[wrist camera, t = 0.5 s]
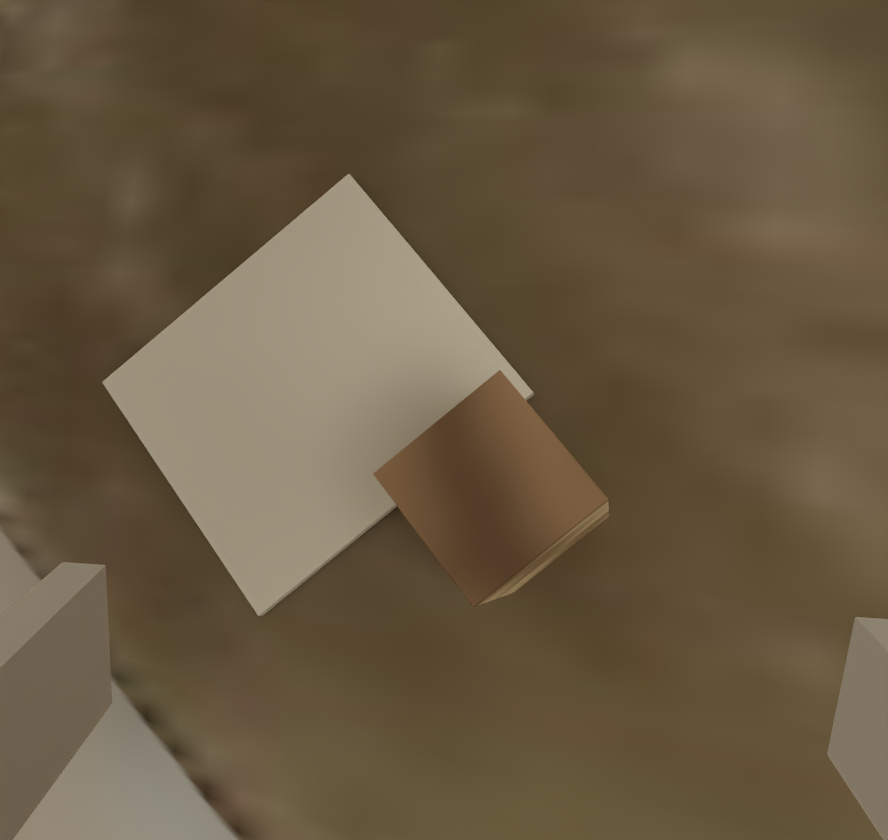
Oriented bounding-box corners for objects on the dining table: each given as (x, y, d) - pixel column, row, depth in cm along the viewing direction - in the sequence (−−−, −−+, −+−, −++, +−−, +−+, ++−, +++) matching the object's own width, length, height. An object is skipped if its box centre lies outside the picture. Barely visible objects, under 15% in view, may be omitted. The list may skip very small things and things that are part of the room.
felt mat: (352, 178, 46) (348, 173, 45) (534, 394, 42) (533, 392, 41) (108, 384, 46) (102, 382, 46) (263, 615, 42) (258, 616, 42)
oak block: (531, 422, 41) (500, 369, 30) (609, 516, 40) (608, 499, 28) (439, 497, 42) (373, 473, 30) (513, 592, 40) (473, 607, 29)
